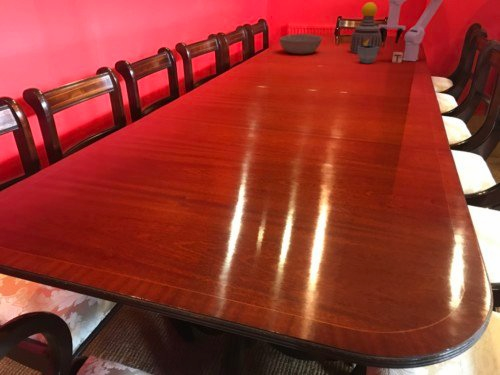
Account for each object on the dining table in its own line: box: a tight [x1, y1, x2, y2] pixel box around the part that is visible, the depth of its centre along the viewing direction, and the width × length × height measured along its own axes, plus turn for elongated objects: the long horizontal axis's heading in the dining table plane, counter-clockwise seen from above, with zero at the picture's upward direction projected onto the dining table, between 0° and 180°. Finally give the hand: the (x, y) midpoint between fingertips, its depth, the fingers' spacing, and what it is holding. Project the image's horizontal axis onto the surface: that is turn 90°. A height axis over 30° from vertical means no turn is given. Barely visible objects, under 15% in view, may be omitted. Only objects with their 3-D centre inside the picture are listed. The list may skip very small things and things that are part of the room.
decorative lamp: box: [349, 1, 382, 55], centre depth 252 cm, size 19×19×30 cm
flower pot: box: [357, 45, 380, 64], centre depth 226 cm, size 9×9×9 cm
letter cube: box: [391, 51, 404, 63], centre depth 229 cm, size 5×5×5 cm
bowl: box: [278, 33, 323, 55], centre depth 258 cm, size 28×28×10 cm
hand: (389, 42), depth 226 cm, fingers open, 7 cm apart
